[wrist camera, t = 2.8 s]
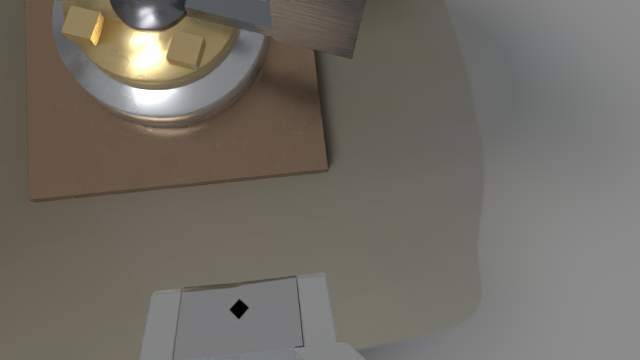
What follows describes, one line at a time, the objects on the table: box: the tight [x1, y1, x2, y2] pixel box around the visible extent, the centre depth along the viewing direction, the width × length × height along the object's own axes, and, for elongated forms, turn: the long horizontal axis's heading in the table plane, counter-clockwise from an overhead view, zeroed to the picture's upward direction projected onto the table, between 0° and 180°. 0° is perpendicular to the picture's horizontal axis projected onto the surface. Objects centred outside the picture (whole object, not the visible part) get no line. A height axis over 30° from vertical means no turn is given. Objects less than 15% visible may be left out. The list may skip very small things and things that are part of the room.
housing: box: [25, 0, 328, 202], centre depth 40 cm, size 20×18×4 cm
